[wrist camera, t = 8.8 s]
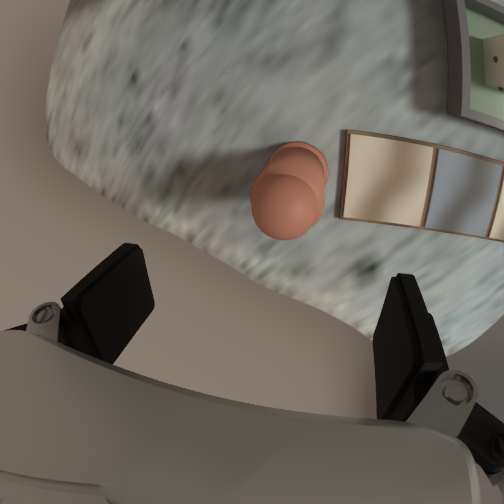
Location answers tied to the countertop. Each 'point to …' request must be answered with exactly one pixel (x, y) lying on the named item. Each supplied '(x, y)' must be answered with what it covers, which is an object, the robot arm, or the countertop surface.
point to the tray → (472, 60)
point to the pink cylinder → (290, 191)
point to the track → (422, 186)
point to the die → (494, 61)
